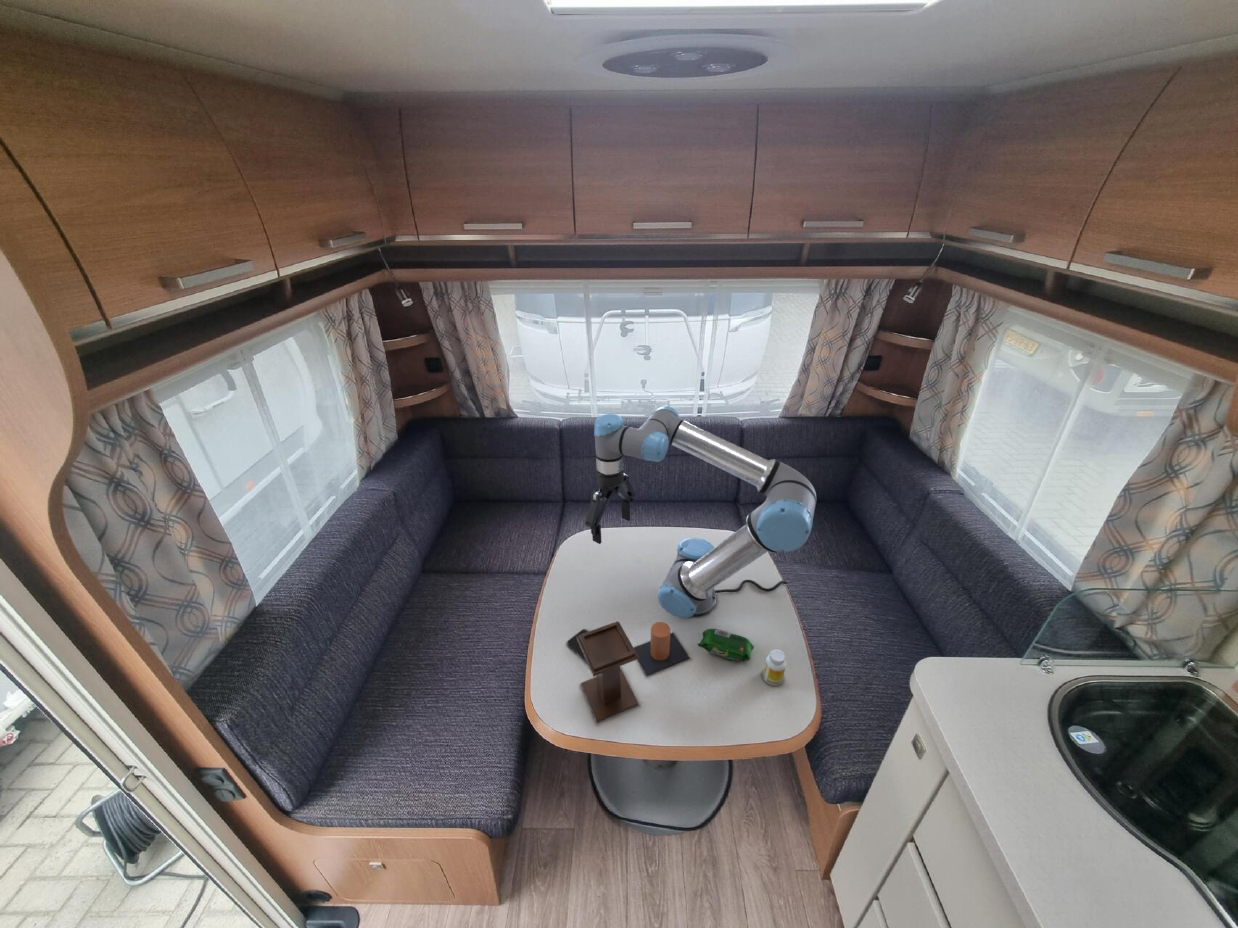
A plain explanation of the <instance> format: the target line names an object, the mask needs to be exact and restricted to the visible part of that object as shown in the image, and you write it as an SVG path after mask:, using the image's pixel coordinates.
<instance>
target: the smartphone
mask: <svg viewBox="0 0 1238 928" xmlns="http://www.w3.org/2000/svg"><path fill="white" fill-rule="evenodd" d="M589 631H590V630H588V629H586V628H583V629H582V630H580V631H579V632H577V633H576V634H575V635H573V636H572V637H571V638H570V639H568V640H567V641H566V645H567V646H568V647H569V648H570V649H571V650H573V651H574V653H576V654H577V655H578V656H579V657H580V658H581V659H582V660H583V661H585V662H586V663H587V661H586V659H585V657H584V654H583V652H582V650H581V648H580V645H579V643H578V641H577V637H578V636H579V635H580V634H583V633H586V632H589Z"/></svg>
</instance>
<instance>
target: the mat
mask: <svg viewBox="0 0 1238 928" xmlns="http://www.w3.org/2000/svg"><path fill="white" fill-rule="evenodd" d="M633 648H634V649H635V651H636V653H637V655H638V659H637V661H638V663H639V665H640V666H641V668H642V670H643V672H644V674H645V676H646V677H648V676H651V675H653V674H656V673H658V672H661V671H662V670H663V671H664V670H665V669H668V668H670V667H673V666H675V665H678V664H680V663H683V662H686V661H687V660H690V656H689V654H688V653H687V651H686V650H685V649H684V647H683V645H682V644H681V643H680V641H679V639H678V638H677V636H676V635H675V633H674V632H670V651H669V656H668V658H667V659H665V660H662V661H659V660H656V659H654V658H653V657H652V656H651V653H650V649H651V640H649V641H647V642H645V643H642V644H639V645H636V646H633Z"/></svg>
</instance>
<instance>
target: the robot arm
mask: <svg viewBox="0 0 1238 928" xmlns="http://www.w3.org/2000/svg"><path fill="white" fill-rule="evenodd" d="M593 436H594V445H595V447H594V448H595V466H596V471H595V472H596V473H595V474H596V482H597V484H598V485H599V488H598V491H596V492H595V491H592V492H591V493H590V502H589V507H588V510H587V514H586V518H585V521H584V526H586V527H588V528H589V529H590V534H591V535H592V536H591V537H592V541H593V542H595V543H597V544H598V545H601V544H602V528H601V527H602V525H601V524H600V522H601V520H602V518H603V515H604V513H605V511H606V508H607V506H608V505H609V504H610V502H611V501H612V500H613V499H614V498H615V497H617V496H618V495H619V496H620V497H621V498H622V499H621V501H620V503H621V519H624V520H625V521H627V522H629V521H631V507H632V506H631V503H634V501H635V499H634V497H636V492H635V490H634V488H633V486H632V484H631V482H630V478H629V477H630V476H629V475H628V474H625V470H624V466H625V464H624V463H625V462H624V456H627V457H632V458H635V459H640V460H644V461H646V462H657V463H659V462H662V461H663V460H664V459H665V458H666V455H667V453H668V450H669V445H671V446H673V447H675V448H677V449H680V451H681V450H682V451H684V452H686V453H688V454H689V455H691V456H693V457H695V458H698V459H699V460H702V461H703V462H705V463H707V464H710V465H712V466H714V467H716V468H718V469H719V470H722V471H724V472H726V473H728V474H730V475H732V476H734V477H736V478H739V479H740V480H742V481H745V482H746V483H748V484H751V485H752V486H754V487H755V488H756V490H757V492H759V493H760V494H762V495H764V496H765V497H766V498H765V501H764V502H763V503H762V504H761V505H759V506H758V507H756V508H755V509H754V510H752V511H751V512H750V513H748V515H747V517H746V524H744V525H743V526H742V527H741V528H739V529H737V530H736V531H735V532H733V533H732V534H731V535H730V536H728V537H727V538H726V539H724V540H723V541H721V542H720V543H719V544H717V545H716V546H715V547H714V545H713V544H711V542H710V541H708V540H706V539H703V538H700V537H687V538H684V539H682V540H680V542H679V543H678V544H677V548H676V551H677V554H676V558H675V559H674V562H673V564H672V565H671V567H670V569H669V571H668V573H667V575H666V576H665V578H664V580H663V582H662V584H661V585H660V586H659V591H658V592H657V600H658V603H659V605H660V606H661V607H662V609H663V610H665V612H667V613H668V614H670V615H671V616H673V617H677V618H679V619H689V618H691V617H697V616H698V617H699V616H704V615H707V614H709V613H711V611H713V609H714V608H715V606H716V602H717V594H723V593H737V592H740V591H742V589H743V587H744V586H745V584H746V583H747V584H748V583H750V584H753V585H754V586H755V587H757V588H758V589H760V590H761V591H764V592H773V591H775V590H777V588H779V587H780V586H781V585H782V584H784V585H788V582H787V581H786V580H780V581H779V582H777V583H776V584H775V585H773V586H772V587H769V588H767V587H764V586H761V584H759V583H757V582H756V581H754V580H752V579H743V580H742V582H741V583H740V585H739V586H738V587H737V588H733V589H732V588H726V589H715V587H717V586H718V585H719V584H722V583H723V582H724V581H726V580H727V579H729V578H730V577H732V576H733V575H735V574H736V573H738V572H740V571H741V570H742V569H744V568H746V567H747V566H749V565H750V564H751V563H753V562H754V561H756V560H757V559H759V558H761V557H762V556H763V555H765V554H767V553H770V554H778V553H781V552H784V553H791V552H794V551H796V550H798V549H800V548H802V547H803V545H805V544H806V542H807V541H808V539H809V537H810V535H811V532H812V530H813V529H812V528H813V521H814V515H815V510H816V505H817V493H816V490H815V487H814V486H813V484H812V483H811V481H810V480H809V479H808V478H807V477H806V476H805V475H803V474H802V473H801V472H799V471H798V470H797V469H794V468H793V467H792V466H790V465H788V464H786V463H784V462H781V461H779V460H777V459H776V458H773V459H770V460H768V459H766V458H764V457H762V456H760V455H758V454H756V453H753V452H751V451H750V450H747V449H745V448H743V447H741V446H739V445H736V444H734V443H732V442H730V441H728V440H726V439H724V438H722V437H719V436H718V435H716V434H714V433H711V432H709V431H707V430H705V429H703V428H701V427H699V426H696V425H695V424H692V423H690V422H688V421H686V420H685V419H682V418H680V415H679V413H678V412H677V410H676V409H675V408H674V407H672V406H670V405H669V406H668V405H663V406H660V407H659V408H657V409H656V410H654V411H653V412H652V413H651V415H650V416H649V417H648V418H647V419H646V420H645V421H644V423H642V425H641V426H639V428H638V427H631V426H627V425H624V420H623V418H622V417H621V415H620V416H619V415H618V414H615V413H604V414H601V415H599V416H598V417H597V418H596V419H595V420H594V432H593Z"/></svg>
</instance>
